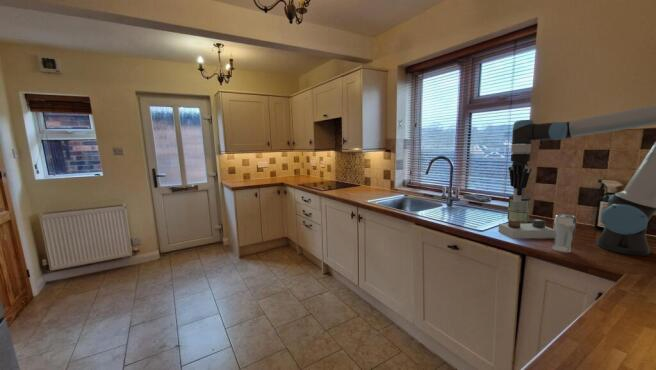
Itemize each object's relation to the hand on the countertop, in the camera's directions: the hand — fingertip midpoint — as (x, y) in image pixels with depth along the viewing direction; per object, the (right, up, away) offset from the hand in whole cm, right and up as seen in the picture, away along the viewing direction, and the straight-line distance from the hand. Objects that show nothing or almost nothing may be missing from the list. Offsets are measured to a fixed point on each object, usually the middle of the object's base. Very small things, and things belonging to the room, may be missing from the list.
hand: (517, 201), depth 130 cm
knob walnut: (0, -15, +3) cm, 16 cm away
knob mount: (+6, -17, +3) cm, 18 cm away
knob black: (+12, -15, +2) cm, 20 cm away
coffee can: (+20, -13, +27) cm, 36 cm away
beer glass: (+7, -20, -17) cm, 27 cm away
